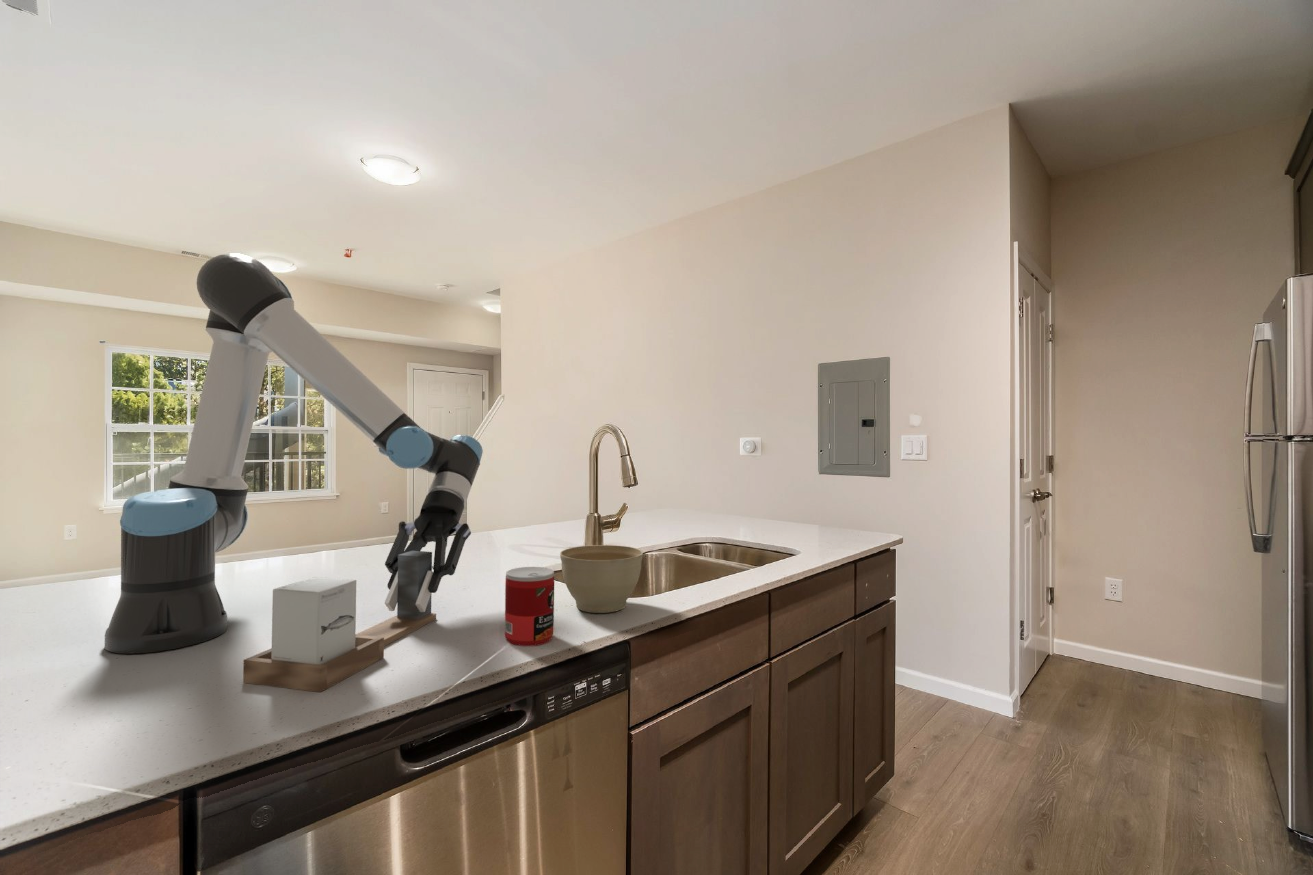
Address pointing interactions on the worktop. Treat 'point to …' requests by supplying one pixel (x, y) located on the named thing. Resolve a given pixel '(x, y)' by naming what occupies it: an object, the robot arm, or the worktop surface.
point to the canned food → (529, 606)
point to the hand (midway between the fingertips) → (404, 607)
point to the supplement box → (313, 620)
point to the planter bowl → (601, 575)
